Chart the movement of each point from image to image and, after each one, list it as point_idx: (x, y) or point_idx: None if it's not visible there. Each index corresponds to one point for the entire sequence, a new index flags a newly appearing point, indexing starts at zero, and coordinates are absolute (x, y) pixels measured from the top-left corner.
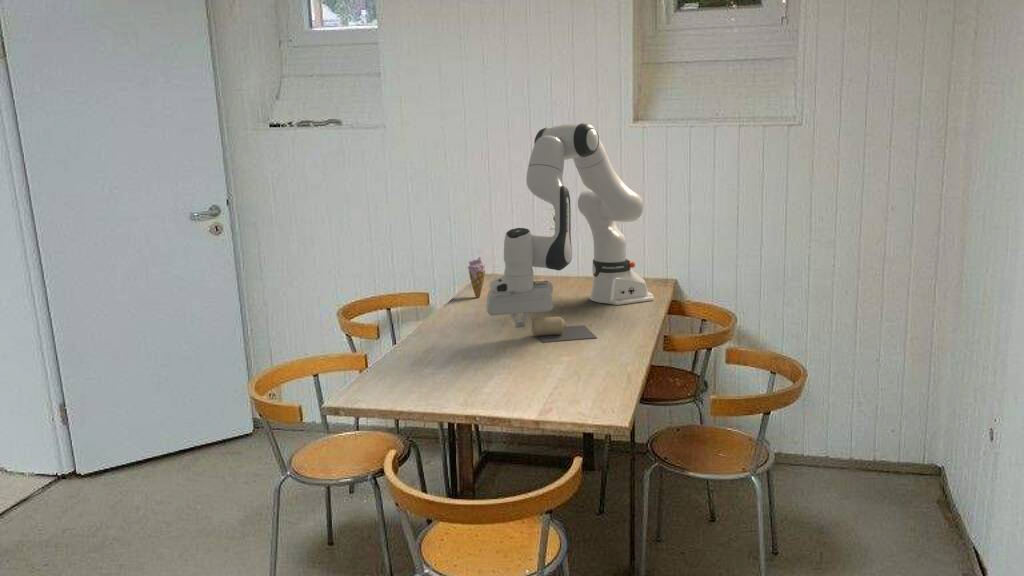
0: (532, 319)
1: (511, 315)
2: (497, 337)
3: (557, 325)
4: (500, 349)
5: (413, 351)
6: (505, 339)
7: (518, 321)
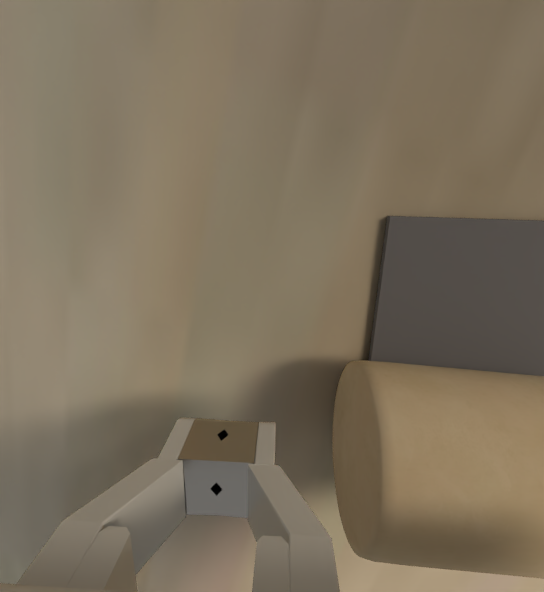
0: (374, 499)
1: (59, 549)
2: (78, 328)
3: None
4: None
5: None
6: (132, 388)
7: (194, 493)
